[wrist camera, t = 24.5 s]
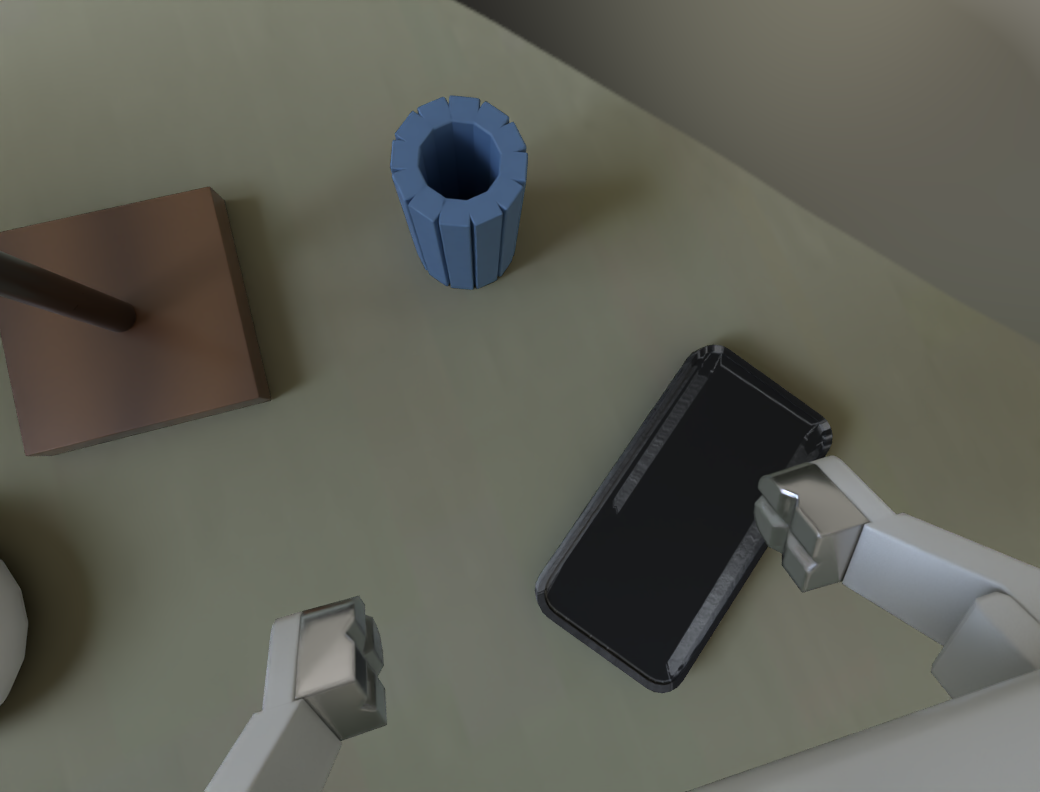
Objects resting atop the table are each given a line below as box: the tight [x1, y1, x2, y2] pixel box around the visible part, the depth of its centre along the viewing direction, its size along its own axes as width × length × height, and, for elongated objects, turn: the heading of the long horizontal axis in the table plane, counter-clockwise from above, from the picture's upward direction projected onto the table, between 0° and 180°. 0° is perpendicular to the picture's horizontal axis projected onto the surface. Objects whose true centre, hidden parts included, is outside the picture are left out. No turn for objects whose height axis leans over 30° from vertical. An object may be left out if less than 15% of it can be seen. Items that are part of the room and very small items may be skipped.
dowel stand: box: [0, 187, 271, 456], centre depth 20 cm, size 10×10×12 cm
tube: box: [390, 95, 528, 290], centre depth 24 cm, size 5×5×8 cm
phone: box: [535, 345, 833, 693], centre depth 27 cm, size 8×1×15 cm
